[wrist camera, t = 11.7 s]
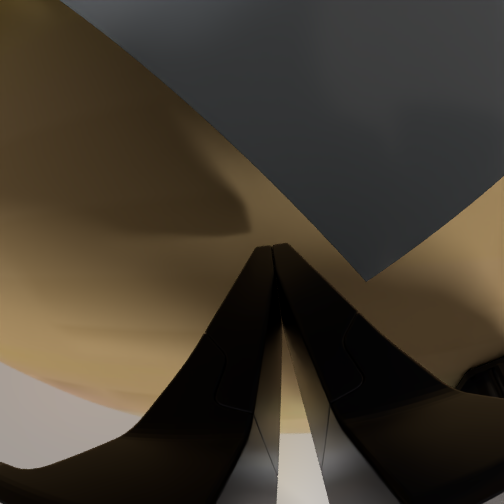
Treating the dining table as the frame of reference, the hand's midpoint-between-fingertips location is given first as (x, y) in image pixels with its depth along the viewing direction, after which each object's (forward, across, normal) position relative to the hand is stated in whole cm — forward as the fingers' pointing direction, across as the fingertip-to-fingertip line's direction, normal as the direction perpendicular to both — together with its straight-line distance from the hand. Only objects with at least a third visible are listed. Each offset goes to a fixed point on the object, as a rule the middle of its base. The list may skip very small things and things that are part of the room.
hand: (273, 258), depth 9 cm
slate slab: (+2, -1, -8) cm, 8 cm away
